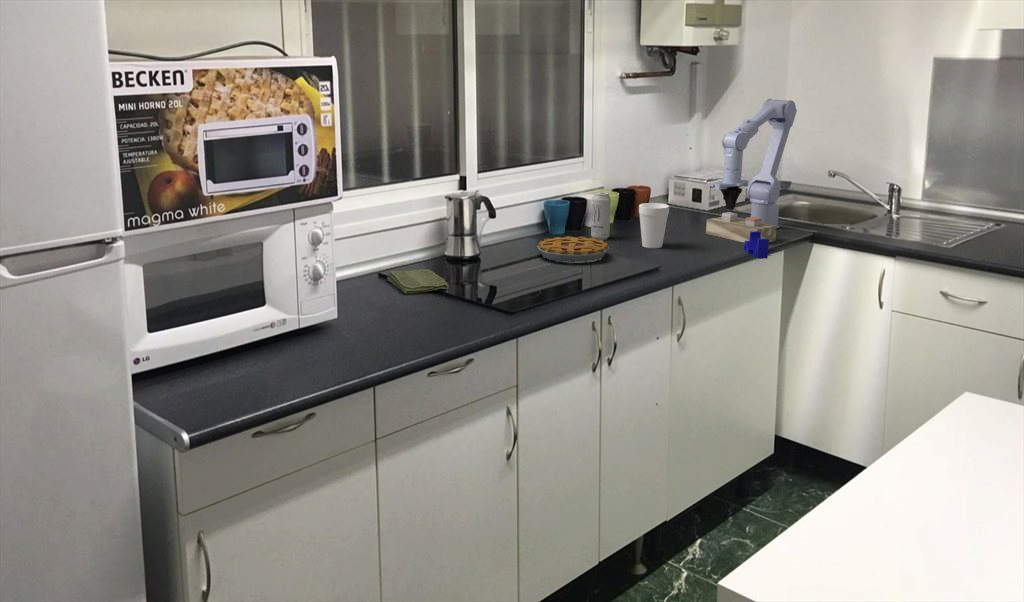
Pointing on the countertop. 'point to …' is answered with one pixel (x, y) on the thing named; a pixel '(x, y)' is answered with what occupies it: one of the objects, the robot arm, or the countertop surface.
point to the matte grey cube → (729, 216)
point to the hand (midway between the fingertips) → (730, 209)
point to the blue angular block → (757, 245)
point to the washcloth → (416, 281)
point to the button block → (738, 229)
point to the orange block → (753, 221)
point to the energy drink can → (600, 216)
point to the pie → (572, 248)
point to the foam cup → (653, 223)
